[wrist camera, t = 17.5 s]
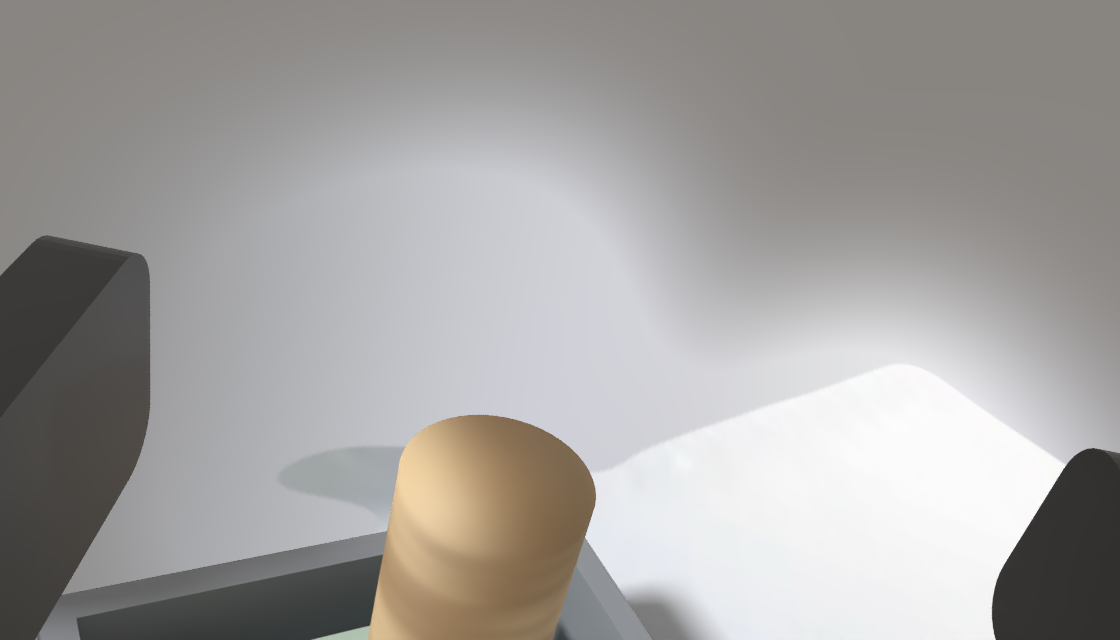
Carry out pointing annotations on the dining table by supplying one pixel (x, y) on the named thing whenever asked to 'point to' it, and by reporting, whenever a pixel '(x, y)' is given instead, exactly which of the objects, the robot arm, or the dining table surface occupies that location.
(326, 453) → the dining table surface
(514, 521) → the peg
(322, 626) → the box
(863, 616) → the dining table surface
